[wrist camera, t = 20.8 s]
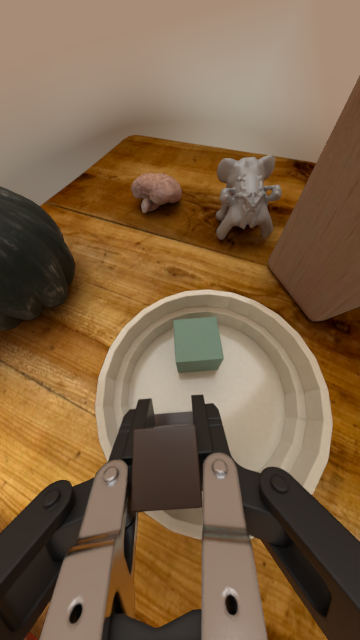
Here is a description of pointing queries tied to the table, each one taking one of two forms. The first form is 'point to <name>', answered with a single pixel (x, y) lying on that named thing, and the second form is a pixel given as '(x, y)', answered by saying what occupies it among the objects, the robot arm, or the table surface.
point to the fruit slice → (30, 637)
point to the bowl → (223, 388)
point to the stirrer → (166, 465)
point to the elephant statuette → (246, 194)
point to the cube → (197, 344)
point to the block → (326, 227)
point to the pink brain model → (156, 190)
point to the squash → (30, 261)
